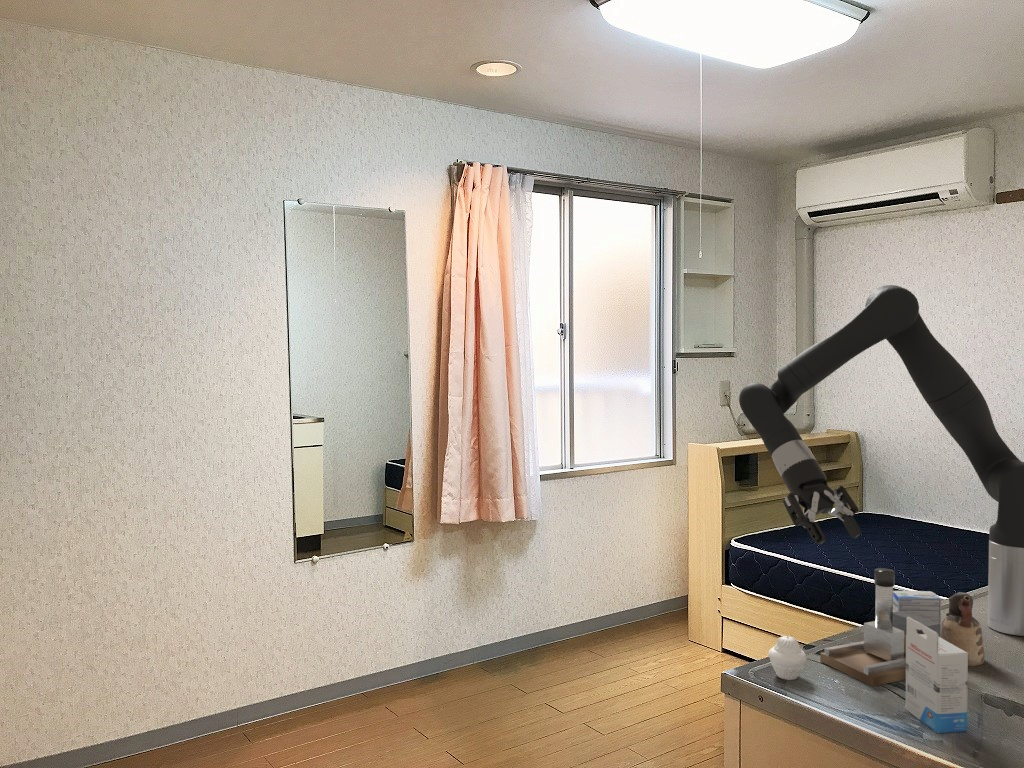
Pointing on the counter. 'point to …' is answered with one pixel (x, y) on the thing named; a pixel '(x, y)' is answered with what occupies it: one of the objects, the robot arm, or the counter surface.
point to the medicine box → (918, 604)
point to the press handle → (884, 621)
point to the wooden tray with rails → (857, 661)
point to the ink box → (935, 680)
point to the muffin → (787, 658)
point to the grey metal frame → (898, 623)
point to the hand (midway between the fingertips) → (839, 539)
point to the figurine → (963, 628)
